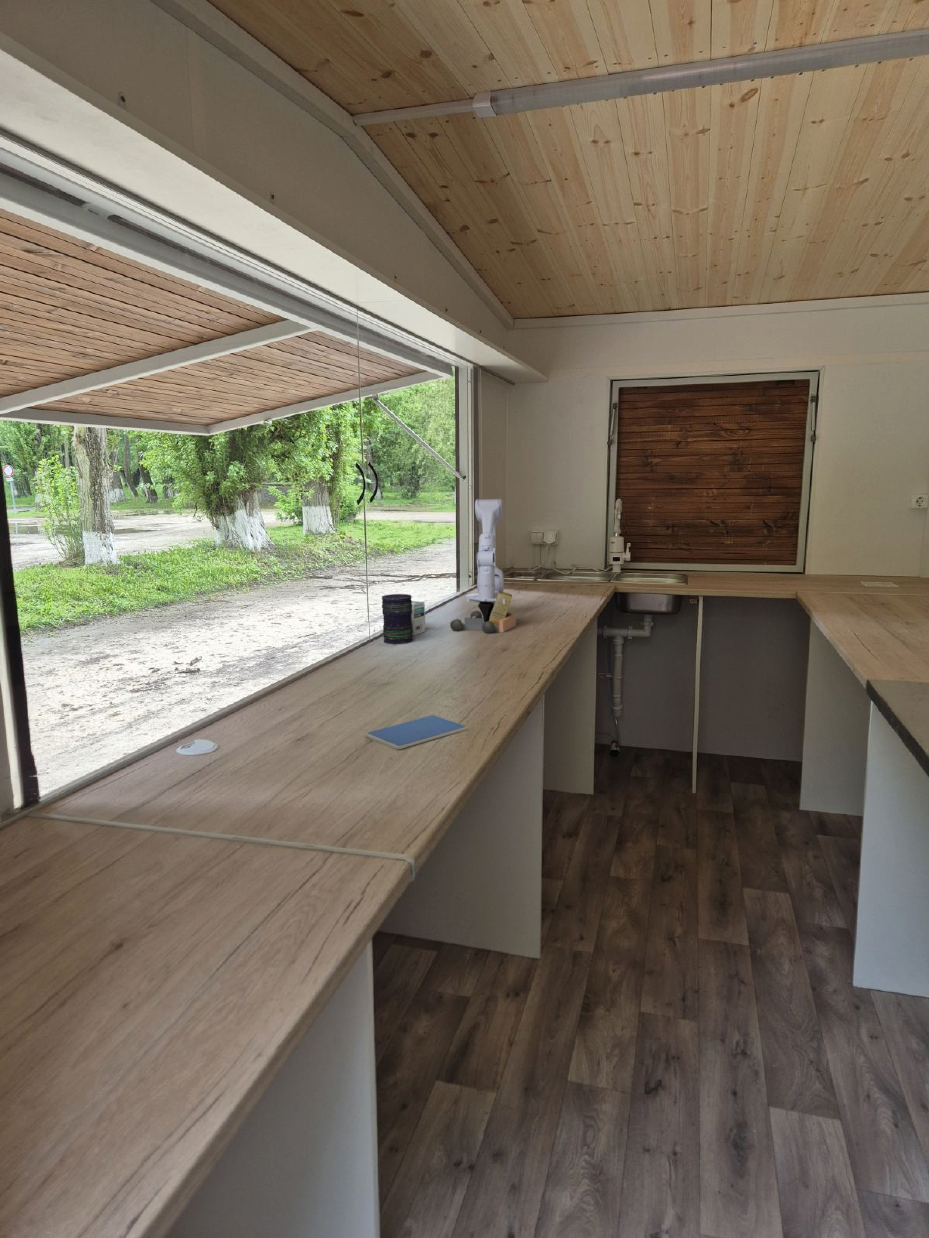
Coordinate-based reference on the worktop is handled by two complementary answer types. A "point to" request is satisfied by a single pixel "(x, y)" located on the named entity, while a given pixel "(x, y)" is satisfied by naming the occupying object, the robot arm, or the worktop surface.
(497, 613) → the shoe polish box
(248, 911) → the worktop surface
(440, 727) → the tablet computer
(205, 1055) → the worktop surface
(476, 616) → the chassis
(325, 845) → the worktop surface
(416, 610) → the light bulb box
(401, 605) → the storage jar
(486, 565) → the robot arm
